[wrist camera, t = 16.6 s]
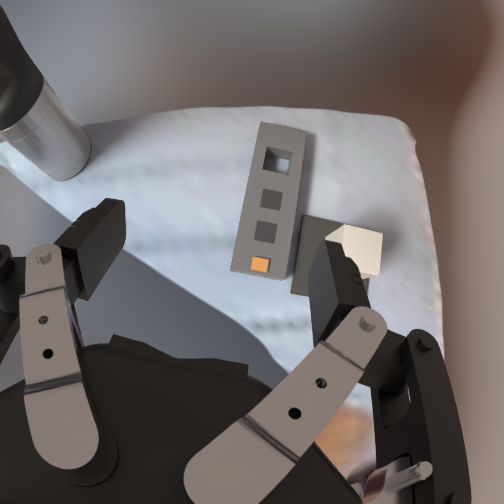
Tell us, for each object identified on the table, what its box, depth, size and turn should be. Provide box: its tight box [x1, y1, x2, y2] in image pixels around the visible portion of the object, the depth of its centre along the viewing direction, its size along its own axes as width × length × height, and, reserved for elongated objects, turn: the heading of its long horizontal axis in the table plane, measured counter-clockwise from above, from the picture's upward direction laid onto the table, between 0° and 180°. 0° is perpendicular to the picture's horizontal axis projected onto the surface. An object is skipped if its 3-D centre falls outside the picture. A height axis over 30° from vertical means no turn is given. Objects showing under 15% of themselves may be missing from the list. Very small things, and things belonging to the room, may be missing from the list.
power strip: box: [230, 122, 307, 281], centre depth 41 cm, size 7×22×3 cm, turn 170°
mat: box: [290, 215, 368, 297], centre depth 41 cm, size 11×11×1 cm
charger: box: [325, 224, 383, 279], centre depth 37 cm, size 5×5×9 cm
